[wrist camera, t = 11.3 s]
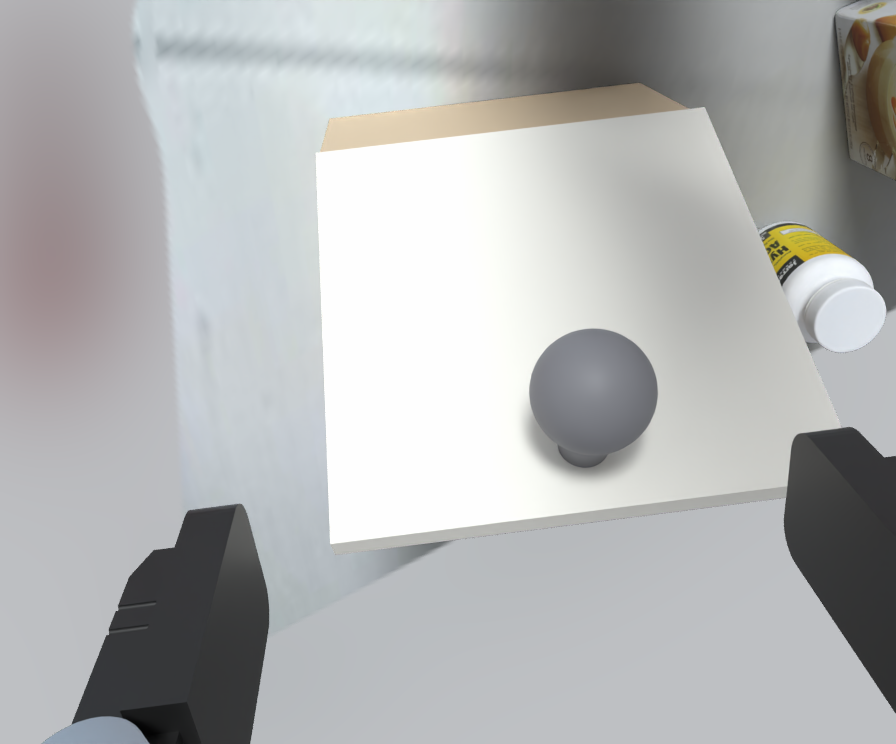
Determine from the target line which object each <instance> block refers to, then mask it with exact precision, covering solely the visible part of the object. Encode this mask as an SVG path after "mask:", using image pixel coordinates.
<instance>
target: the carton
mask: <svg viewBox="0 0 896 744" xmlns="http://www.w3.org/2000/svg"><path fill="white" fill-rule="evenodd" d="M685 109H689V108H687V107H685V106H683V105H681V104H679V103H677V102H675V101H673V100H672V99H670V98H668V97H666V96H664V95H662V94H660V93H658V92H656V91H655V90H653V89H651V88H649V87H647V86H645V85H643V84H641V83H632V84H624V85H615V86H607V87H598V88H589V89H581V90H572V91H564V92H555V93H547V94H538V95H529V96H521V97H512V98H504V99H495V100H487V101H478V102H469V103H461V104H452V105H444V106H435V107H427V108H418V109H409V110H401V111H392V112H384V113H375V114H367V115H358V116H349V117H341V118H332V119H329V123H328V126H327V130H326V134H325V137H324V141H323V144H322V148H321V151H320V152H327V151H335V150H344V149H352V148H361V147H369V146H378V145H386V144H395V143H404V142H412V141H421V140H429V139H438V138H446V137H455V136H463V135H472V134H480V133H489V132H497V131H506V130H514V129H523V128H531V127H540V126H548V125H557V124H565V123H574V122H582V121H591V120H599V119H608V118H617V117H625V116H634V115H642V114H651V113H659V112H668V111H676V110H685Z"/></svg>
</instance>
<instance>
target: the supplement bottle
mask: <svg viewBox="0 0 896 744" xmlns="http://www.w3.org/2000/svg"><path fill="white" fill-rule="evenodd" d="M758 233H759V235H760V237H761V240H762V242H763V244H764V247H765V249H766V251H767V254H768V256H769V258H770V261H771V263H772V265H773V268H774V270H775V272H776V274H777V277H778V279H779V281H780V284H781V286H782V288H783V291H784V293H785V295H786V298H787V300H788V302H789V305H790V307H791V309H792V312H793V314H794V316H795V319H796V321H797V323H798V326H799V328H800V330H801V333H802V335H803V337H804V340H805V342H810V343H819V344H820V345H821V346H822V347H824V348H825V349H827V350H829V351H832V352H837V353H846V352H851V351H855V350H857V349H860V348H861V347H864V346H865V345H867V344H868V343H869V342H871V341H872V340H873V339H874V338H875V337H876V336H877V334H878V333H879V332H880V330H881V328H882V326H883V324H884V322H885V318H886V305H885V302H884V300H883V298H882V296H881V295H880V294H879V293H878V292H877V291H876V290H874V286H873V282H872V279H871V276H870V274H869V272H868V271H867V270H866V268H865V267H864V266H863V265H862V264H861V263H859V262H858V261H857V260H855V259H854V258H852V257H851V256H849V255H848V254H846V253H845V252H844V251H842V250H841V249H839V248H838V247H836V246H835V245H833V244H832V243H830V242H829V241H828V240H826V239H825V238H823V237H822V236H820V235H819V234H818V233H816V232H815V231H813V230H812V229H810V228H809V227H807V226H805V225H803V224H800V223H797V222H788V221H787V222H778V223H774V224H771V225H768V226H766V227H764V228H763V229H761V230H760V231H758Z"/></svg>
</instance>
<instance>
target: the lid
mask: <svg viewBox="0 0 896 744" xmlns="http://www.w3.org/2000/svg"><path fill="white" fill-rule="evenodd" d="M316 174H317V200H318V227H319V254H320V280H321V307H322V333H323V360H324V386H325V413H326V439H327V466H328V492H329V519H330V544H331V546H332V549H333V551H334V553H335V555H340V554H348V553H356V552H363V551H371V550H379V549H387V548H395V547H403V546H411V545H419V544H427V543H434V542H442V541H450V540H458V539H466V538H474V537H482V536H489V535H498V534H505V533H513V532H521V531H528V530H537V529H545V528H552V527H560V526H568V525H576V524H584V523H592V522H600V521H608V520H615V519H624V518H632V517H639V516H647V515H655V514H663V513H671V512H679V511H687V510H695V509H703V508H710V507H718V506H726V505H734V504H742V503H750V502H757V501H765V500H774V499H781V498H786V494H787V484H788V474H789V464H790V455H791V446H792V442H793V440H794V438H795V436H796V435H797V434H799V433H807V432H815V431H822V430H830V429H838V428H842V426H841V424H840V421H839V420H838V417H837V414H836V412H835V410H834V407H833V405H832V403H831V400H830V398H829V396H828V394H827V391H826V389H825V386H824V384H823V382H822V379H821V377H820V375H819V372H818V370H817V368H816V365H815V363H814V361H813V358H812V356H811V354H810V351H809V349H808V347H807V344H806V342H805V340H804V337H803V335H802V333H801V330H800V328H799V326H798V323H797V321H796V319H795V316H794V314H793V312H792V309H791V307H790V305H789V302H788V300H787V298H786V295H785V293H784V291H783V288H782V286H781V284H780V281H779V279H778V277H777V274H776V272H775V270H774V268H773V265H772V263H771V261H770V258H769V256H768V254H767V251H766V249H765V247H764V244H763V242H762V240H761V237H760V235H759V233H758V230H757V228H756V226H755V223H754V221H753V219H752V216H751V214H750V212H749V209H748V207H747V205H746V202H745V200H744V198H743V195H742V193H741V191H740V188H739V186H738V184H737V181H736V179H735V177H734V174H733V172H732V170H731V167H730V165H729V163H728V160H727V158H726V156H725V153H724V151H723V149H722V146H721V144H720V142H719V139H718V137H717V135H716V132H715V130H714V128H713V125H712V123H711V121H710V118H709V116H708V114H707V111H706V109H705V107H702V108H693V109H685V110H676V111H668V112H659V113H651V114H642V115H634V116H625V117H617V118H608V119H599V120H591V121H582V122H574V123H565V124H557V125H548V126H540V127H531V128H523V129H514V130H506V131H497V132H489V133H480V134H472V135H463V136H455V137H446V138H438V139H429V140H421V141H412V142H404V143H395V144H386V145H378V146H369V147H361V148H352V149H344V150H335V151H327V152H318V153H316Z"/></svg>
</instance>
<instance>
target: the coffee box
mask: <svg viewBox="0 0 896 744" xmlns="http://www.w3.org/2000/svg"><path fill="white" fill-rule="evenodd" d="M835 21H836V29H837V39H838V49H839V58H840V67H841V76H842V87H843V97H844V106H845V117H846V126H847V136H848V146H849V154H850V158H851V159H852V160H854V161H856V162H858V163H860V164H862V165H864V166H866V167H868V168H870V169H873V170H875V171H877V172H879V173H881V174H883V175H885V176H888V177H890V178H892V179H894V180H896V0H860V1H858V2H855V3H853V4H850V5H848V6H846V7H843V8H841V9H839V10H838V11H837V12H836V15H835Z"/></svg>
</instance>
